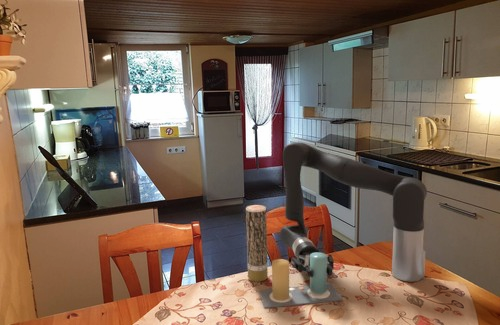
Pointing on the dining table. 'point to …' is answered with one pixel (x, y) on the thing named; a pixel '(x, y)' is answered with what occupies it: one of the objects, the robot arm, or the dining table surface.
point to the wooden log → (256, 242)
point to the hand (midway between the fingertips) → (321, 273)
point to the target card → (300, 296)
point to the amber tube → (280, 279)
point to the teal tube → (318, 272)
